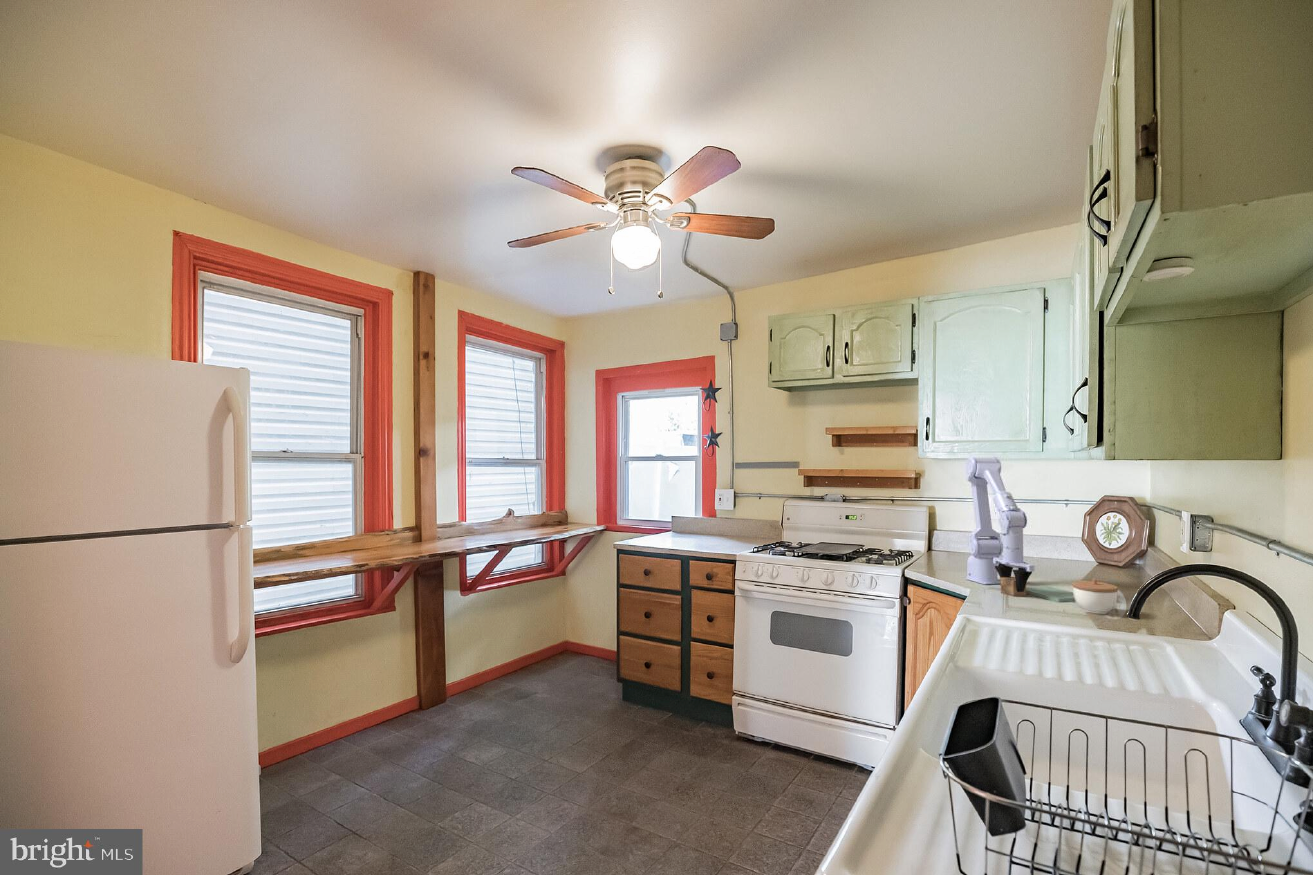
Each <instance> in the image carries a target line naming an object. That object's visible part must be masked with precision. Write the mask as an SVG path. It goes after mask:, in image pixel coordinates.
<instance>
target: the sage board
mask: <svg viewBox="0 0 1313 875" xmlns="http://www.w3.org/2000/svg"><path fill="white" fill-rule="evenodd" d="M1027 594H1028V595H1031V596H1035V597H1039V598H1042V599H1046V600H1049V601H1053V602H1056V603H1064V602H1065V603H1067V602H1076V601H1075V599H1074V595H1073V591H1068V590H1065V589H1061V588H1058V587H1057V588H1056V587H1053V586H1050V585H1046V584H1045V585H1032V586H1026V595H1027Z"/></svg>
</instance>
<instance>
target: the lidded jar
mask: <svg viewBox="0 0 1313 875" xmlns="http://www.w3.org/2000/svg"><path fill="white" fill-rule="evenodd" d="M1118 589H1119V588H1118V586H1116V585H1115V584H1112V583H1111V584H1110V583H1107V582H1101V581H1098V579H1097V578H1092V580H1091V581H1090V580H1075V581H1073V582H1072V592H1073V595H1074V599H1075V601H1074V602H1075V603H1076V604H1077V605H1078V606H1079V608H1081V609H1082V611H1083V612H1086V613H1088V614H1095V615H1108V614H1109V613H1110V612H1111V611H1112V610H1113V609H1114V608H1115V606H1116V605H1117V602H1118Z"/></svg>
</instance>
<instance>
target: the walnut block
mask: <svg viewBox="0 0 1313 875" xmlns="http://www.w3.org/2000/svg"><path fill="white" fill-rule="evenodd" d="M1000 581H1001V584H1000V594H1004V595H1007V596H1011V597H1022V596H1023V597H1025V596H1027V593H1026V587H1027V585H1026V586H1025V589H1024V592H1017V589H1016V579H1015V576H1011V577H1001V578H1000Z"/></svg>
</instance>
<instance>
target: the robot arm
mask: <svg viewBox="0 0 1313 875" xmlns="http://www.w3.org/2000/svg"><path fill="white" fill-rule="evenodd" d="M1001 472H1002V463H1001V460H1000V459H999V458H998V457H996V456H995V457H973V456H972V457H971V456H970V457H969V458H968V459H967V461H966V464H965V473H966V480H967V482H969V483H970V486H971V494H972V495H971V496H972V503H973V504H972V505H973V512H974V522H975V529H974V530H973V531H971V533H969V534H968V543H967V544H968V545H967V546H968V547H967V548H968V551H969V553H970V554H971V555H970V556H969V557H968V559H967V562H966V565H967V567H966V569H967V570H966V571H967V575H966V577H965V580H968V581H972V582H974V583H978V584H982V585H997V584H998V585H999V584H1000V585H1001V580H999V579H998V576H999V578H1000V579H1001V577H1012V572H1013V575H1014V577H1015V579H1016V589H1017V592H1024V589H1025V586H1026V587H1027V583H1028V580H1029V578H1030V577H1031V575H1032V574H1033V572H1035V564H1031V563H1029V562H1025V561H1024V529H1025V528H1027V525H1028V518H1027V514H1026V512H1025V511H1024V510H1022V509H1021V508H1020V507H1018V505H1017V503H1016V502H1015V499H1014V497H1013V495H1012V493H1011V492H1009V491H1006V488H1005V484H1004V482H1003V479H1002V477H1001ZM988 486H989V487H990V489H991V491H992V492H993V494H994V496H993V498H992V500H993V502H994V503H993V504H995V507H996V509H997V512H998V514H999V517H998V524H999V525H1000V532H1001V534H1002V538H1001V534H1000V533H998V531H996V530H994V529H993V525H992V517H991V516H992V515H991V508H990V501H989V492H988ZM1001 555H1002V557H1000V556H1001Z"/></svg>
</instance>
